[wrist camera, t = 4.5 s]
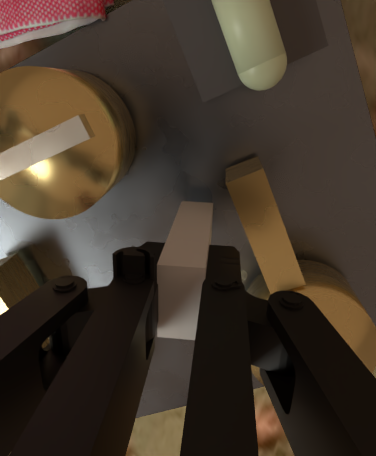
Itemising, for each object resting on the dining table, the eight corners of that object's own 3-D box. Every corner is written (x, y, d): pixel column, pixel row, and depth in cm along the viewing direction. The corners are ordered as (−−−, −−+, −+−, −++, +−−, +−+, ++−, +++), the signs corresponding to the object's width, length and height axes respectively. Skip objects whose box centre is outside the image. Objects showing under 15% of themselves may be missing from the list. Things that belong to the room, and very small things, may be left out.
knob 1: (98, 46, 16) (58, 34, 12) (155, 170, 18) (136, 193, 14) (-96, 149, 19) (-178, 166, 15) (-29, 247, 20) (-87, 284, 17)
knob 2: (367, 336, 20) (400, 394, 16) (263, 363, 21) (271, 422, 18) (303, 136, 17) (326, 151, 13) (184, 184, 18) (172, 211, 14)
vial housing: (165, -3, 15) (146, -32, 12) (280, -66, 14) (299, -119, 10) (210, 111, 17) (205, 118, 13) (317, 63, 16) (345, 56, 12)
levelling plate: (-126, 155, 22) (-159, 161, 20) (303, -79, 15) (314, -101, 14) (60, 416, 28) (48, 439, 26) (411, 323, 22) (428, 345, 20)
